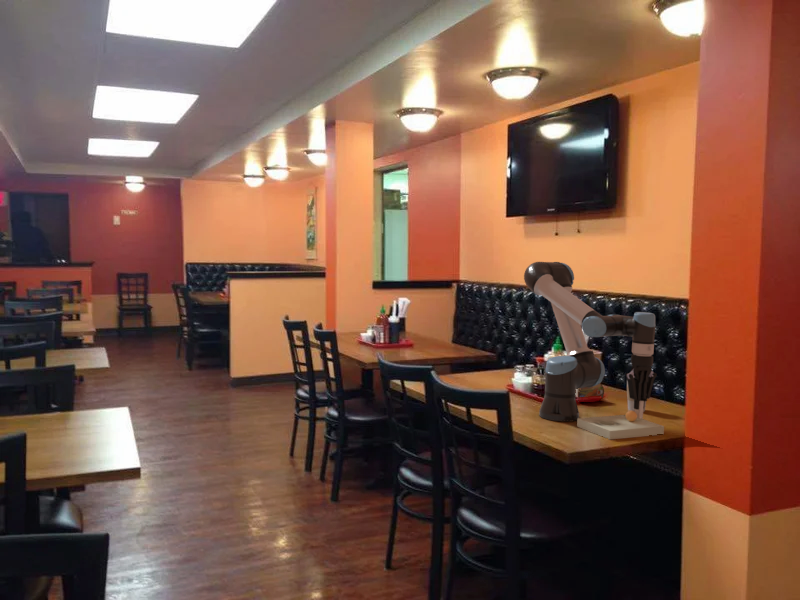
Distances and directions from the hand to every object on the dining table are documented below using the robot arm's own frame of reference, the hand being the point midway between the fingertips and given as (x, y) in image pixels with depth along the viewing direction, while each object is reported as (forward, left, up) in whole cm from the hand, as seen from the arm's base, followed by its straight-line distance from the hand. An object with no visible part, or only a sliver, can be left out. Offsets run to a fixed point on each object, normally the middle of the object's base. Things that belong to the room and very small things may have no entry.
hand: (638, 417), depth 241 cm
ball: (0, -4, +1) cm, 4 cm away
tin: (-43, +11, -4) cm, 44 cm away
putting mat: (0, -9, -4) cm, 10 cm away
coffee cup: (-25, +21, -4) cm, 33 cm away
